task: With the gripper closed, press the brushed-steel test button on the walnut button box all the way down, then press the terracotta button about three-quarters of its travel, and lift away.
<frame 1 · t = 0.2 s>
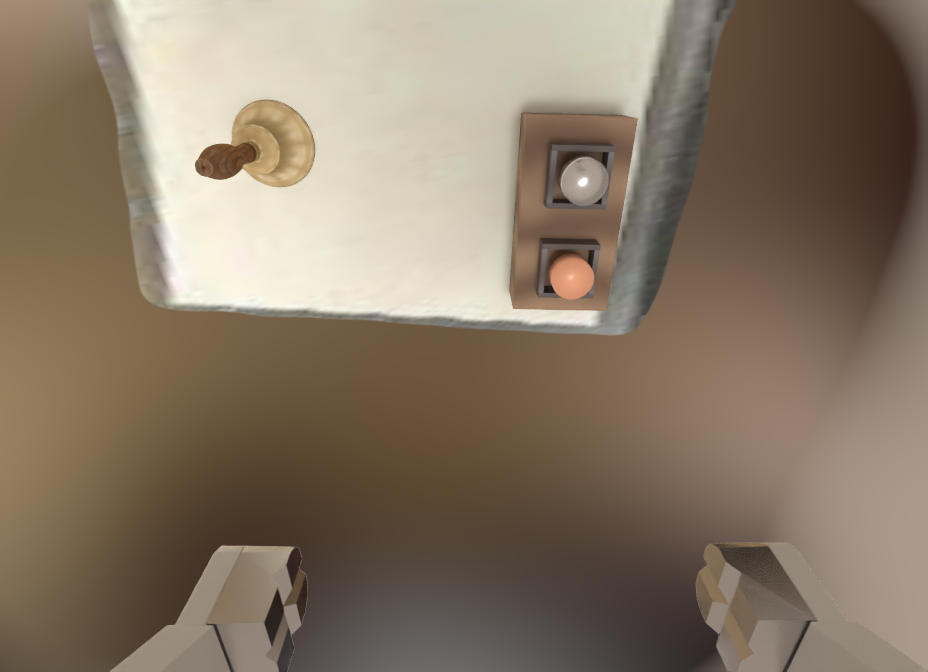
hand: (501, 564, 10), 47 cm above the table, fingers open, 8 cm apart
terracotta button: (571, 276, 48), point 8 cm above the table, slide at 0.0 cm
button box: (561, 210, 54), on the table
steel button: (583, 180, 44), point 8 cm above the table, slide at 0.0 cm
hand bell: (274, 144, 51), on the table
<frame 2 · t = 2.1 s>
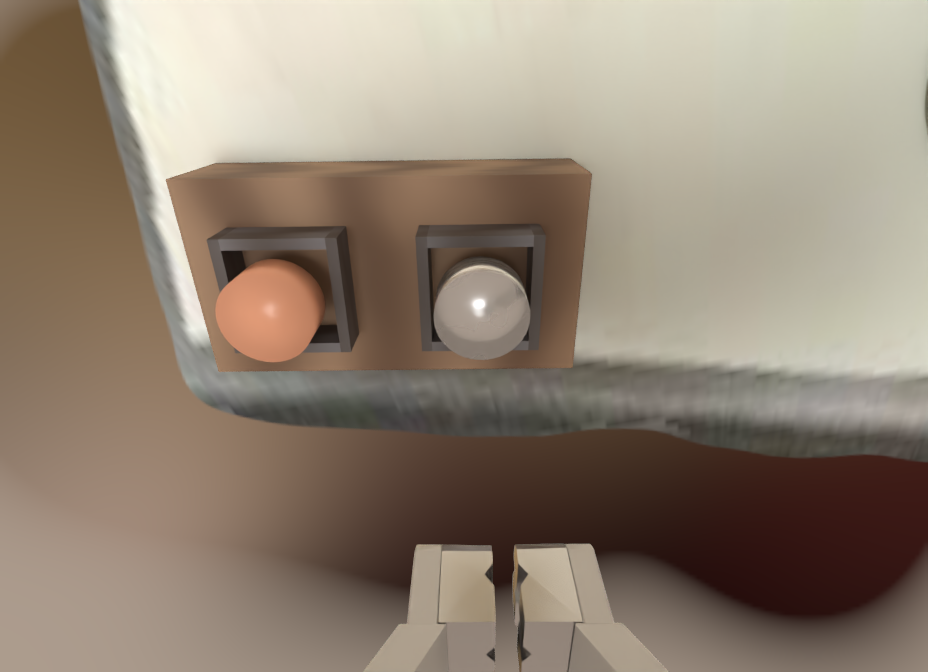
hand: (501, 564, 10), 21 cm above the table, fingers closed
terracotta button: (273, 310, 21), point 8 cm above the table, slide at 0.0 cm
button box: (399, 251, 29), on the table
steel button: (481, 308, 21), point 8 cm above the table, slide at 0.0 cm
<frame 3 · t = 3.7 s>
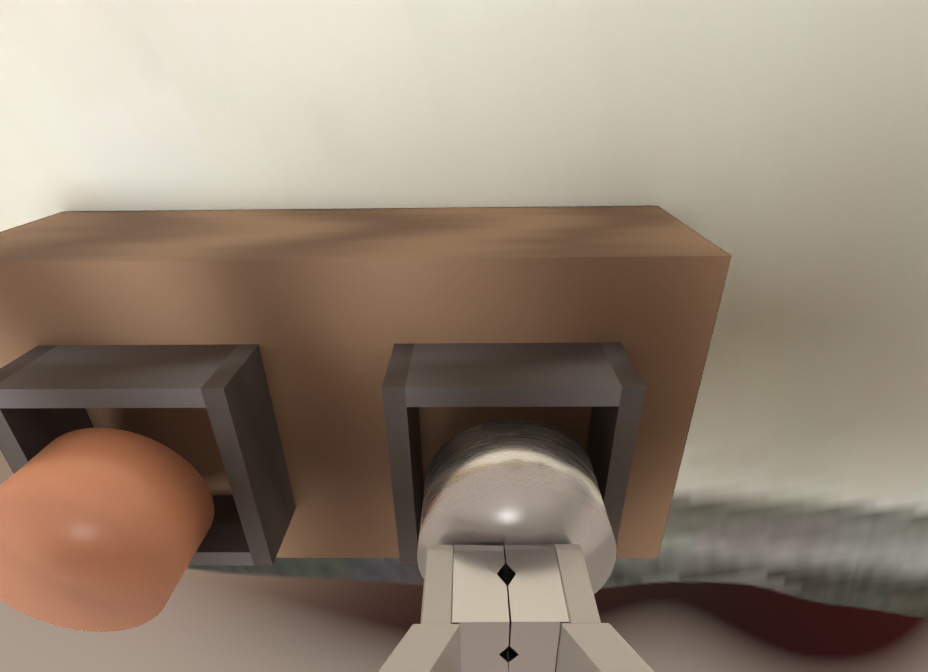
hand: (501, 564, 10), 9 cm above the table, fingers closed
terracotta button: (99, 529, 11), point 8 cm above the table, slide at 0.0 cm
button box: (372, 346, 18), on the table
steel button: (512, 520, 11), point 8 cm above the table, slide at 0.3 cm, touching gripper
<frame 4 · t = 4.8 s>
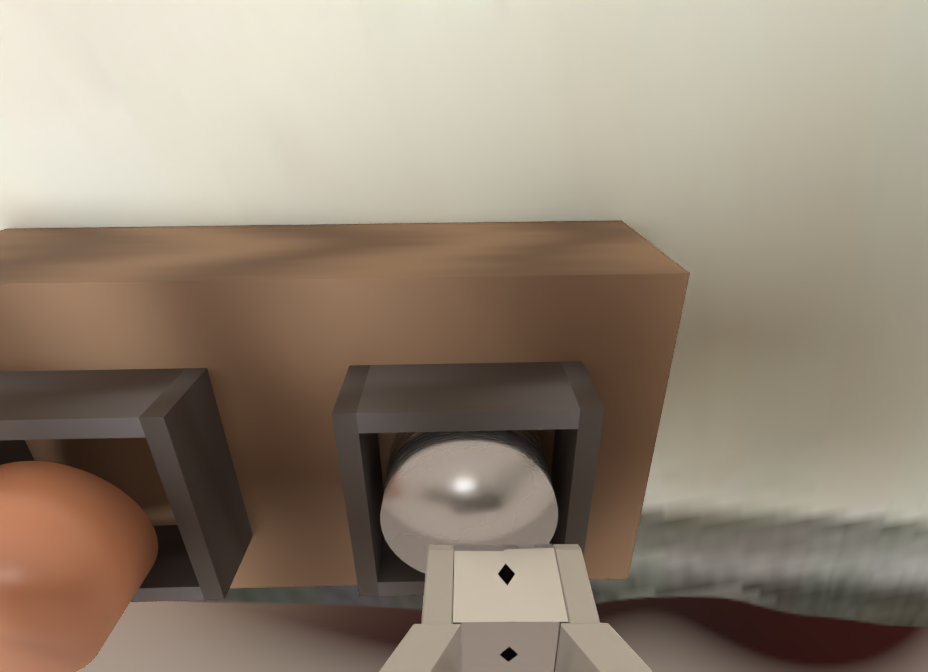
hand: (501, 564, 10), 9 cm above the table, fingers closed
terracotta button: (29, 570, 10), point 8 cm above the table, slide at 0.0 cm
button box: (336, 365, 18), on the table
steel button: (468, 489, 12), point 6 cm above the table, slide at 2.0 cm
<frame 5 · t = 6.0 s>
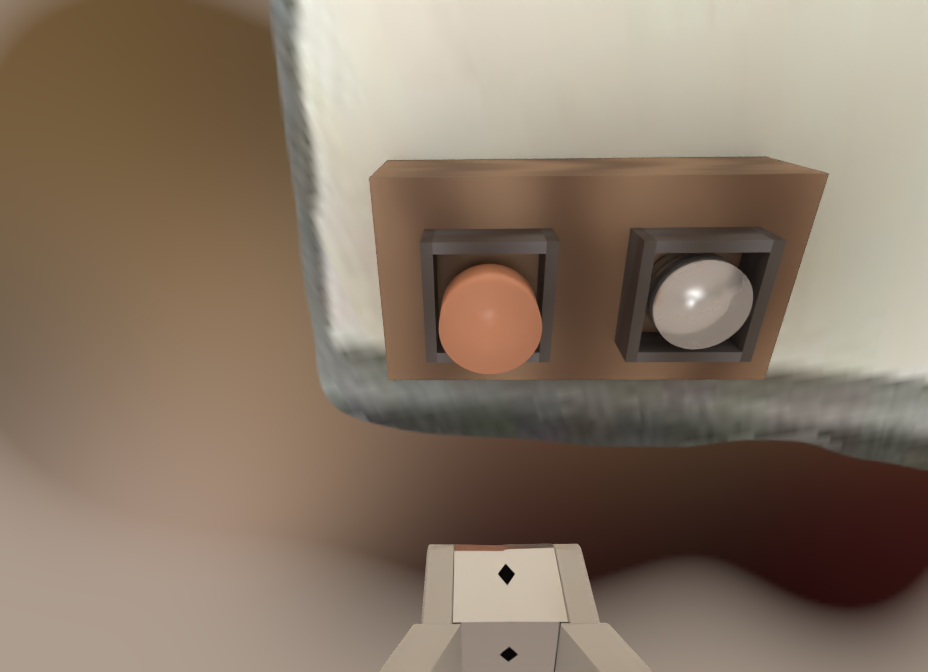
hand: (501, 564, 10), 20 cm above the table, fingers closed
terracotta button: (489, 319, 20), point 8 cm above the table, slide at 0.0 cm
button box: (566, 253, 27), on the table
steel button: (694, 298, 22), point 6 cm above the table, slide at 2.0 cm
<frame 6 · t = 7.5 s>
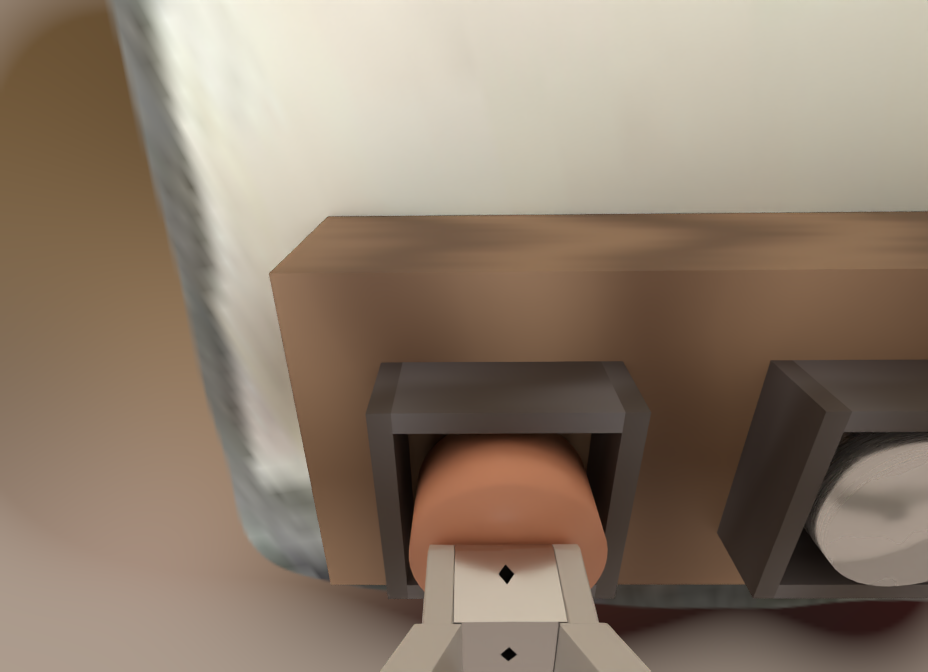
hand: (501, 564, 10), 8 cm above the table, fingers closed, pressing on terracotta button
terracotta button: (504, 520, 11), point 7 cm above the table, slide at 1.2 cm, touching gripper
button box: (620, 358, 17), on the table
steel button: (888, 490, 12), point 6 cm above the table, slide at 2.0 cm
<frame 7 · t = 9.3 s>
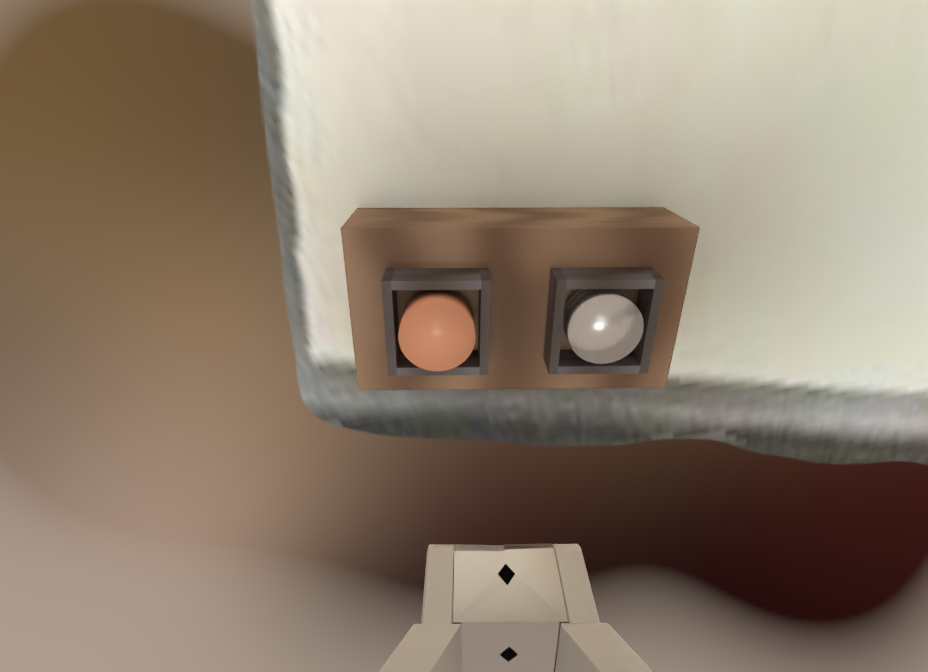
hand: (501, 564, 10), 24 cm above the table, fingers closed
terracotta button: (437, 329, 27), point 7 cm above the table, slide at 1.4 cm
button box: (508, 284, 33), on the table
steel button: (600, 323, 27), point 6 cm above the table, slide at 2.0 cm
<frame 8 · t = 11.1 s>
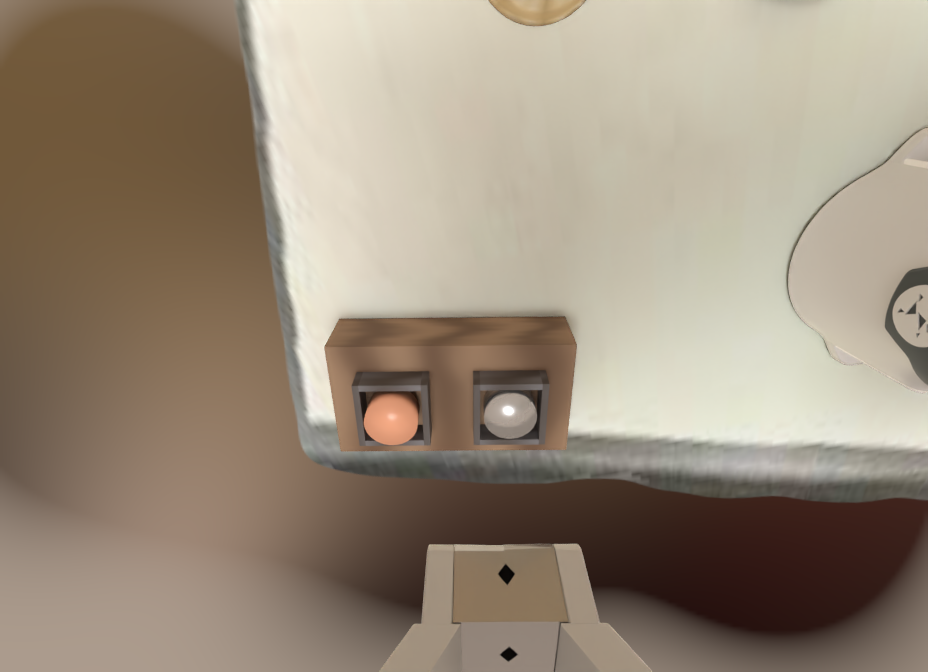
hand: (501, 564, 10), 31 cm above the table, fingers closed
terracotta button: (392, 416, 38), point 7 cm above the table, slide at 1.4 cm
button box: (453, 368, 44), on the table
steel button: (509, 409, 38), point 6 cm above the table, slide at 2.0 cm
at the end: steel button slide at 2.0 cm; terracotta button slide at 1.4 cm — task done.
